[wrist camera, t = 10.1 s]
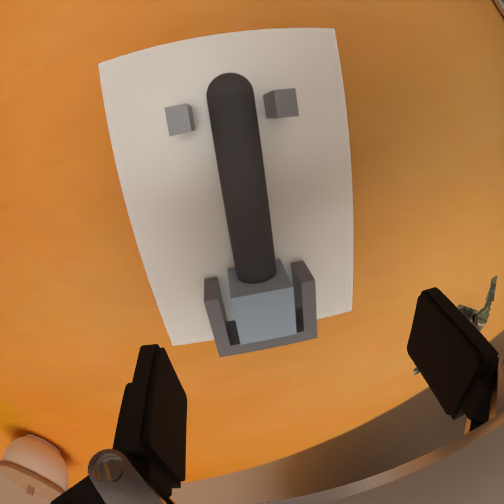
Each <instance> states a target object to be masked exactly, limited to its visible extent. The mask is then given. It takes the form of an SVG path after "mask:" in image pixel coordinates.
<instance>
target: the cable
mask: <svg viewBox="0 0 504 504" xmlns="http://www.w3.org/2000/svg"><path fill="white" fill-rule="evenodd" d="M206 98H207V105H208V111H209V117H210V124H211V130H212V136H213V142H214V149H215V155H216V161H217V167H218V173H219V179H220V185H221V190H222V196H223V202H224V208H225V214H226V219H227V225H228V231H229V236H230V242H231V248H232V253H233V259H234V264H235V267H234V268H228V269H227V271H228V280H229V288H230V296H231V302H232V307H233V312H234V316H235V321H236V326H237V330H238V335H239V339H240V344H241V345H242V344H248V343H253V342H259V341H264V340H269V339H274V338H279V337H284V336H289V335H294V334H297V331H296V316H295V302H294V288H293V285H292V283H291V281H290V278H289V276H288V274H287V272H286V270H285V268H284V266H283V264H282V261H281V259H278V260H275V253H274V244H273V235H272V227H271V219H270V210H269V202H268V194H267V186H266V178H265V171H264V163H263V155H262V148H261V140H260V133H259V126H258V118H257V111H256V104H255V97H254V91H253V87H252V85H251V83H250V82H249V81H248V79H246V78H245V77H244V76H242V75H240V74H237V73H224V74H221V75H219V76H217V77H216V78H214V79H213V80H212V81H211V83H210V84H209V86H208V89H207V93H206Z"/></svg>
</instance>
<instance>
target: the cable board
mask: <svg viewBox="0 0 504 504" xmlns="http://www.w3.org/2000/svg"><path fill="white" fill-rule="evenodd" d="M98 66H99V74H100V81H101V88H102V94H103V101H104V107H105V113H106V118H107V124H108V129H109V134H110V139H111V144H112V149H113V154H114V158H115V163H116V167H117V171H118V176H119V180H120V184H121V188H122V192H123V196H124V200H125V203H126V207H127V211H128V215H129V218H130V222H131V225H132V229H133V232H134V236H135V239H136V242H137V246H138V249H139V252H140V255H141V258H142V262H143V265H144V268H145V271H146V274H147V277H148V280H149V283H150V286H151V289H152V291H153V294H154V297H155V300H156V303H157V305H158V308H159V311H160V314H161V316H162V319H163V322H164V324H165V327H166V329H167V332H168V335H169V337H170V340H171V342H172V345H173V346H176V345H183V344H190V343H196V342H203V341H209V340H215V343H216V346H217V349H218V353H219V356H220V357H224V356H230V355H236V354H241V353H247V352H252V351H257V350H263V349H268V348H273V347H278V346H282V345H287V344H292V343H296V342H301V341H305V340H309V339H314V338H317V319H320V318H325V317H329V316H333V315H337V314H341V313H345V312H349V311H352V295H353V257H354V229H353V191H352V170H351V155H350V142H349V130H348V120H347V110H346V102H345V93H344V86H343V78H342V71H341V65H340V58H339V52H338V46H337V40H336V35H335V30H334V28H278V29H261V30H249V31H239V32H230V33H223V34H216V35H209V36H203V37H197V38H192V39H186V40H181V41H177V42H172V43H167V44H163V45H159V46H155V47H151V48H147V49H143V50H140V51H136V52H133V53H129V54H126V55H123V56H119V57H116V58H113V59H110V60H107V61H104V62H101V63H99V64H98ZM224 73H237V74H240V75H242V76H244V77H245V78H246V79H248V81H249V82H250V83H251V85H252V87H253V91H254V97H255V104H256V111H257V118H258V126H259V133H260V140H261V148H262V155H263V163H264V171H265V178H266V186H267V194H268V202H269V210H270V219H271V227H272V235H273V244H274V253H275V260H278V259H281V261H282V264H283V266H284V268H285V270H286V272H287V274H288V276H289V278H290V281H291V283H292V285H293V288H294V302H295V316H296V331H297V334H294V335H289V336H284V337H279V338H274V339H269V340H264V341H259V342H253V343H248V344H242V345H241V344H240V339H239V335H238V330H237V326H236V321H235V316H234V312H233V307H232V302H231V296H230V288H229V280H228V271H227V269H228V268H234V267H235V264H234V259H233V253H232V248H231V242H230V236H229V231H228V225H227V219H226V214H225V208H224V202H223V196H222V190H221V185H220V179H219V173H218V167H217V161H216V155H215V149H214V142H213V136H212V130H211V124H210V117H209V111H208V105H207V98H206V93H207V89H208V86H209V84H210V83H211V81H212V80H213V79H214V78H216V77H217V76H219V75H221V74H224Z"/></svg>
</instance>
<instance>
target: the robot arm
mask: <svg viewBox="0 0 504 504" xmlns="http://www.w3.org/2000/svg"><path fill="white" fill-rule="evenodd" d="M494 2H495V4H496V5H497V7H498V9H499V10H500V12H501V13H502V15H503V16H504V0H494ZM407 351H408V354H409V356H410V357H411V359H412V360H413V362H414V363H415V365H416V366H417V368H418V369H419V371H420V372H421V374H422V376H423V377H424V379H425V380H426V382H427V383H428V385H429V387H430V388H431V390H432V391H433V393H434V395H435V396H436V398H437V399H438V401H439V403H440V404H441V406H442V408H443V409H444V411H445V412H446V414H447V415H451V417H452V419H453V420H455V419H457V418H459V417H461V416H462V415H464V414H465V415H466V416H467V423H466V429H465V434H464V435H463V436H462V437H460V438H458V439H456V440H454V441H452V442H451V443H449V444H447V445H445V446H443V447H441V448H439V449H437V450H435V451H433V452H431V453H429V454H427V455H424V456H422V457H420V458H418V459H415V460H413V461H411V462H408V463H406V464H404V465H402V466H399V467H397V468H394V469H392V470H389V471H386V472H383V473H381V474H378V475H375V476H372V477H369V478H366V479H364V480H361V481H357V482H354V483H351V484H348V485H344V486H341V487H337V488H334V489H330V490H326V491H322V492H318V493H314V494H310V495H305V496H301V497H295V498H290V499H285V500H279V501H273V502H267V503H260V504H504V355H503V356H502V357H501V358H500V359H499V358H498V357H497V355H498V352H497V351H496V350H495V349H494V347H493V346H492V345H491V344H490V343H489V342H488V341H487V340H486V338H485V337H484V336H483V335H482V334H481V333H480V332H479V331H478V330H477V328H476V327H475V326H474V325H473V324H472V323H471V322H470V321H469V320H468V319H467V318H466V317H465V316H464V314H463V313H462V312H461V311H460V310H459V309H458V308H457V307H456V306H455V305H454V304H453V303H452V302H451V301H450V300H449V299H448V298H447V297H446V296H445V295H444V294H443V293H442V292H441V291H440V290H439V289H438V288H436V287H434V288H430V289H427V290H424V291H422V292H421V295H420V296H419V297H418V300H417V305H416V310H415V315H414V320H413V324H412V328H411V333H410V337H409V341H408V345H407ZM186 421H187V397H186V394H185V391H184V389H183V387H182V385H181V383H180V381H179V379H178V377H177V375H176V373H175V371H174V368H173V366H172V364H171V362H170V360H169V357H168V355H167V353H166V351H165V349H164V348H160V347H159V345H158V344H153V345H143V346H141V348H140V351H139V355H138V360H137V364H136V368H135V372H134V377H133V381H132V383H128V384H127V385H126V387H125V391H124V395H123V399H122V404H121V409H120V413H119V418H118V423H117V428H116V433H115V438H114V444H113V449H105V450H102V451H99V452H97V453H96V454H95V455H94V456H93V457H92V458H91V460H90V461H89V465H88V474H89V475H88V476H87V477H86V478H84V479H83V480H81V481H80V482H79V483H77V484H76V485H74V486H73V487H71V488H70V489H68V490H67V491H66V492H64V493H63V494H61V495H60V496H58V497H57V498H55V499H54V500H53V501H52V502H51V504H176V503H175V502H174V501H173V500H172V499H171V498H170V496H171V494H172V488H181V481H184V480H185V463H186Z"/></svg>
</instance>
